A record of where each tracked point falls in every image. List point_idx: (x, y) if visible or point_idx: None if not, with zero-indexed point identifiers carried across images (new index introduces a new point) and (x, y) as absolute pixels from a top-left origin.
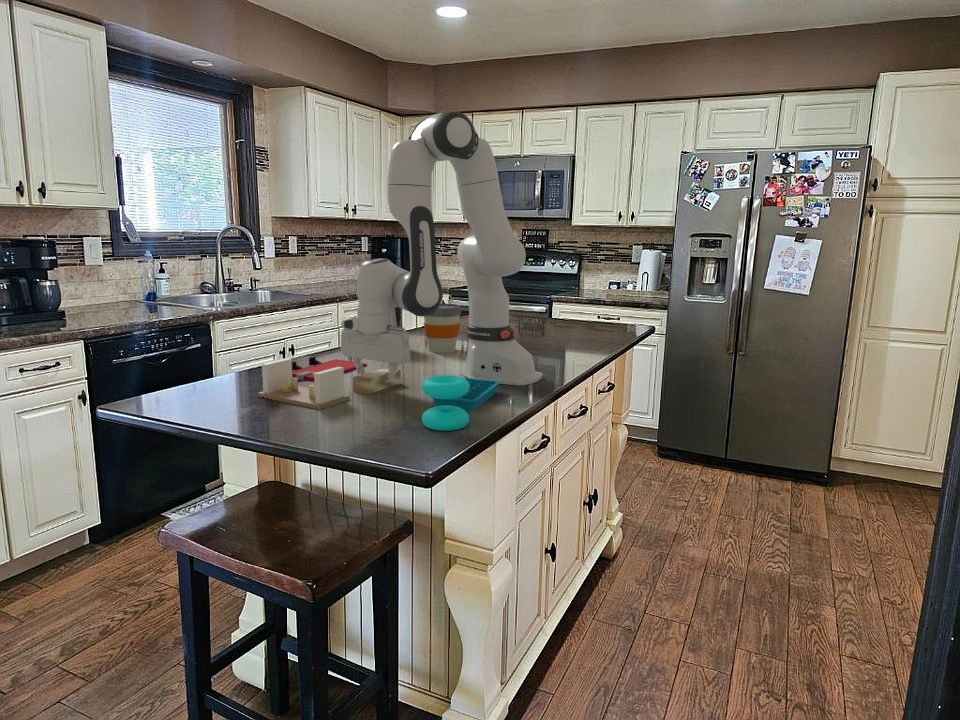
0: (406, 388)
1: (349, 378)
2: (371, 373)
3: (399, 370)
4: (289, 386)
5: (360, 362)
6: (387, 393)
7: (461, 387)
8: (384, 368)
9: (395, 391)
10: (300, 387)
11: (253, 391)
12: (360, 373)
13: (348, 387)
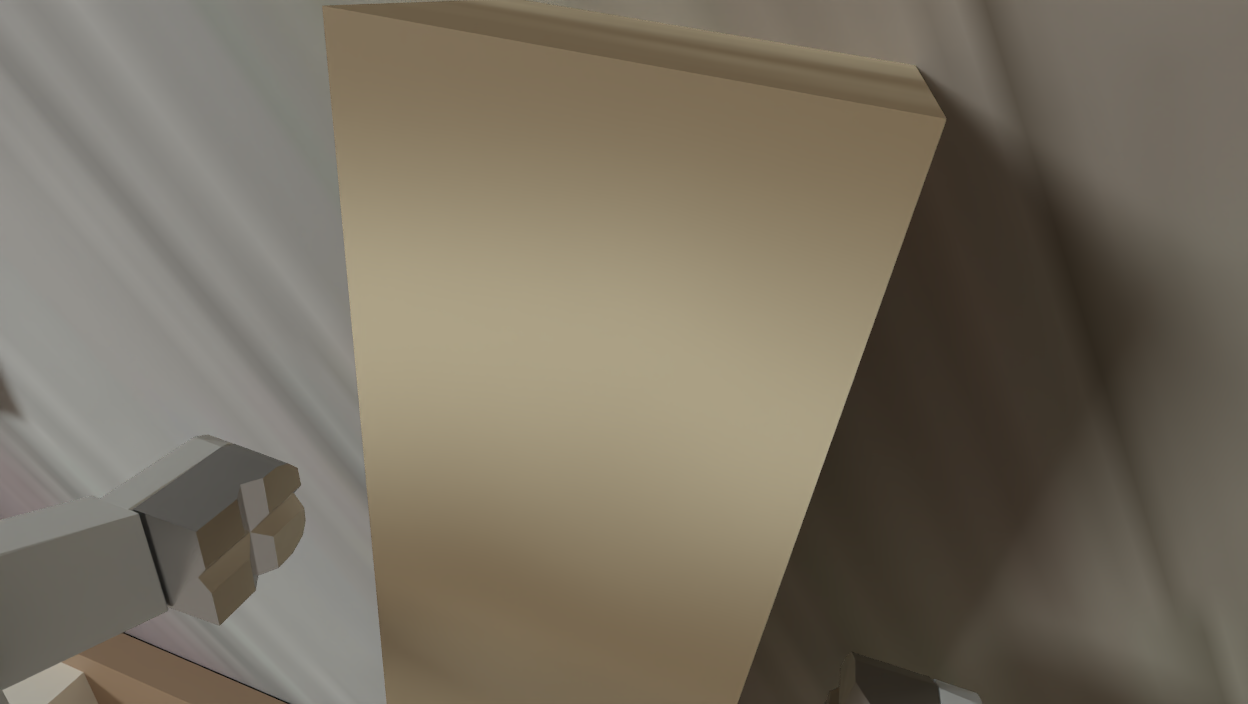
0: (1186, 409)
1: (18, 112)
2: (466, 631)
3: (925, 159)
4: (87, 697)
5: (10, 575)
6: None
7: None
8: (388, 144)
9: (1011, 601)
10: (146, 697)
11: None
12: (283, 557)
13: (348, 516)
